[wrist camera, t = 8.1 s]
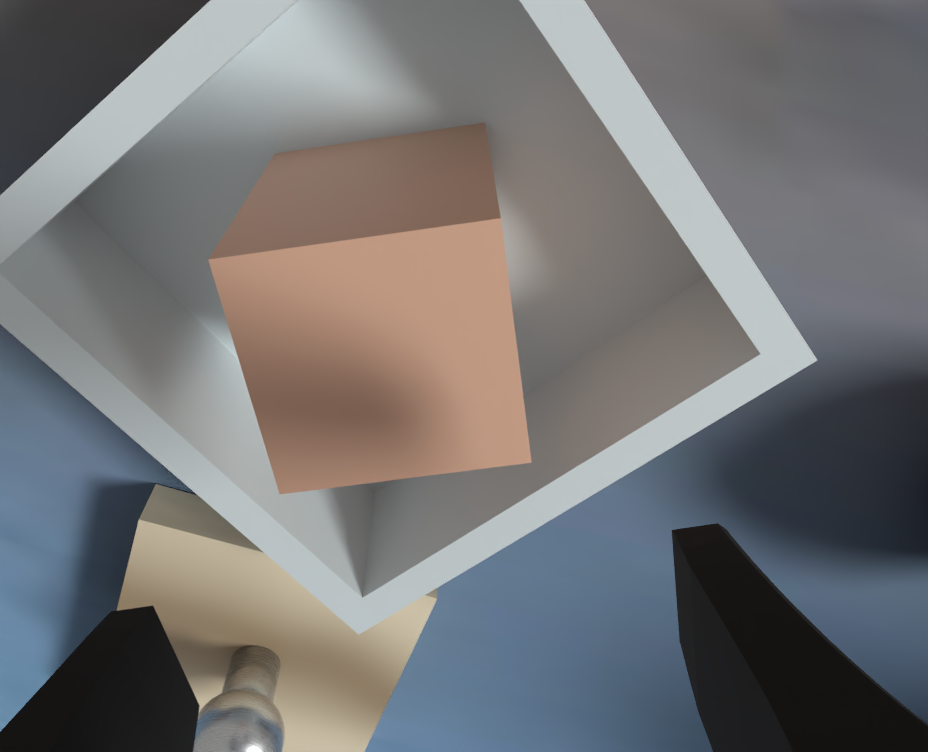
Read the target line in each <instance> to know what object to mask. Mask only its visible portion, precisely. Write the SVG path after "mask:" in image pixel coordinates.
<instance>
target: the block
mask: <svg viewBox="0 0 928 752" xmlns="http://www.w3.org/2000/svg"><path fill="white" fill-rule="evenodd" d="M208 261H209V264H210V267H211V271H212V274H213V277H214V280H215V284H216V287H217V290H218V294H219V297H220V300H221V303H222V307H223V310H224V313H225V317H226V320H227V323H228V326H229V330H230V333H231V336H232V340H233V343H234V346H235V349H236V353H237V356H238V359H239V363H240V366H241V369H242V372H243V376H244V379H245V382H246V386H247V389H248V392H249V395H250V399H251V402H252V405H253V409H254V412H255V415H256V418H257V422H258V425H259V428H260V432H261V435H262V438H263V441H264V445H265V448H266V451H267V455H268V458H269V461H270V464H271V468H272V471H273V474H274V478H275V481H276V484H277V487H278V491H279V494H288V493H295V492H303V491H311V490H319V489H327V488H335V487H343V486H351V485H359V484H367V483H375V482H382V481H390V480H398V479H406V478H414V477H422V476H430V475H438V474H446V473H454V472H462V471H470V470H477V469H485V468H493V467H501V466H509V465H517V464H525V463H532V461H531V453H530V445H529V437H528V430H527V422H526V414H525V406H524V398H523V390H522V382H521V374H520V366H519V358H518V350H517V342H516V334H515V326H514V318H513V311H512V303H511V295H510V287H509V279H508V271H507V263H506V255H505V247H504V239H503V231H502V223H501V216H500V210H499V204H498V198H497V192H496V185H495V179H494V173H493V167H492V161H491V155H490V149H489V143H488V136H487V130H486V124H485V123H479V124H472V125H465V126H458V127H451V128H445V129H438V130H431V131H424V132H418V133H411V134H404V135H397V136H390V137H384V138H377V139H370V140H363V141H356V142H350V143H343V144H336V145H329V146H323V147H316V148H309V149H302V150H295V151H289V152H282V153H275V154H274V156H273V157H272V159H271V160H270V162H269V164H268V165H267V167H266V168H265V170H264V172H263V173H262V175H261V176H260V178H259V179H258V181H257V183H256V184H255V186H254V187H253V189H252V191H251V192H250V194H249V195H248V197H247V199H246V200H245V202H244V203H243V205H242V207H241V208H240V210H239V211H238V213H237V215H236V216H235V218H234V219H233V221H232V223H231V224H230V226H229V227H228V229H227V230H226V232H225V234H224V235H223V237H222V238H221V240H220V242H219V243H218V245H217V246H216V248H215V250H214V251H213V253H212V254H211V256H210V258H209V259H208Z"/></svg>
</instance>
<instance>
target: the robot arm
mask: <svg viewBox="0 0 928 752" xmlns="http://www.w3.org/2000/svg"><path fill="white" fill-rule="evenodd" d="M672 539H673V553H674V567H675V581H676V595H677V609H678V623H679V638H680V643H681V647H682V651H683V655H684V659H685V663H686V667H687V671H688V674H689V678H690V682H691V686H692V690H693V693H694V697H695V701H696V705H697V708H698V712H699V715H700V717H701V720H702V723H703V725H704V728H705V731H706V733H707V736H708V739H709V741H710V744H711V747H712V749H713V752H928V725H927V724H926V723H925V722H924V721H922V720H921V719H920V718H918V717H917V716H916V715H915V714H913V713H912V712H911V711H910V710H908V709H907V708H906V707H905V706H904V705H902V704H901V703H900V702H899V701H897V700H896V699H895V698H894V697H893V696H892V695H890V694H889V693H888V692H887V691H886V690H884V689H883V688H882V687H881V686H880V685H879V684H877V683H876V682H875V681H874V680H873V679H872V678H871V677H869V676H868V675H867V674H866V673H865V672H864V671H863V670H861V669H860V668H859V667H858V666H857V665H856V664H855V663H854V662H852V661H851V660H850V659H849V658H848V657H847V656H846V655H845V654H844V653H843V652H842V651H840V650H839V649H838V648H837V647H836V646H835V645H834V644H833V643H832V642H831V641H830V640H829V639H828V638H827V637H826V636H825V635H824V634H823V633H822V632H820V631H819V630H818V629H817V628H816V627H815V626H814V625H813V624H812V623H811V622H810V621H809V620H808V619H807V618H806V617H805V616H804V615H803V614H802V613H801V612H800V611H799V610H798V609H797V608H796V607H795V606H794V605H793V604H792V603H791V602H790V601H789V600H788V599H787V598H786V597H785V596H784V595H783V594H782V592H781V591H780V590H779V589H778V588H777V587H776V586H775V585H774V584H773V583H772V582H771V581H770V580H769V578H768V577H767V576H766V575H765V574H764V573H763V572H762V571H761V570H760V569H759V568H758V566H757V565H756V564H755V563H754V562H753V561H752V560H751V558H750V557H749V556H748V555H747V554H746V553H745V552H744V550H743V549H742V548H741V547H740V546H739V544H738V543H737V542H736V541H735V540H734V538H733V537H732V536H731V535H730V533H729V532H728V531H727V530H726V529H725V528H724V527H722V526H721V525H719V524H718V523H717V524H710V525H704V526H697V527H690V528H683V529H676V530H672ZM199 707H200V705H199V703H198V701H197V699H196V697H195V695H194V693H193V690H192V688H191V686H190V684H189V682H188V680H187V677H186V675H185V673H184V671H183V669H182V667H181V664H180V662H179V660H178V658H177V656H176V654H175V652H174V649H173V647H172V645H171V643H170V641H169V639H168V636H167V634H166V632H165V630H164V628H163V626H162V623H161V621H160V619H159V617H158V615H157V613H156V611H155V608H154V606H146V607H139V608H132V609H125V610H118V611H111V612H110V613H109V614H108V615H107V616H106V617H105V618H104V619H103V620H102V621H101V622H100V624H99V625H98V626H97V627H96V628H95V629H94V630H93V631H92V632H91V633H90V634H89V635H88V636H87V637H86V638H85V640H84V641H83V642H82V643H81V644H80V645H79V646H78V647H77V648H76V649H75V651H74V652H73V653H72V654H71V655H70V656H69V657H68V658H67V659H66V661H65V662H64V663H63V664H62V665H61V666H60V667H59V668H58V669H57V670H56V672H55V673H54V674H53V675H52V676H51V677H50V678H49V679H48V680H47V682H46V683H45V684H44V685H43V686H42V687H41V688H40V689H39V690H38V691H37V693H36V694H35V695H34V696H33V697H32V698H31V699H30V700H29V701H28V702H27V703H26V705H25V706H24V707H23V708H22V709H21V710H20V711H19V712H18V713H17V714H16V715H15V716H14V718H13V719H12V720H11V721H10V722H9V723H8V724H7V725H6V726H5V727H4V728H3V730H2V731H1V732H0V752H193V748H194V742H195V735H196V728H197V721H198V714H199Z"/></svg>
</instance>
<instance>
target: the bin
mask: <svg viewBox="0 0 928 752" xmlns="http://www.w3.org/2000/svg"><path fill="white" fill-rule="evenodd" d="M479 123H485V124H486V130H487V136H488V143H489V149H490V155H491V161H492V167H493V173H494V179H495V185H496V192H497V198H498V204H499V210H500V216H501V223H502V231H503V239H504V247H505V255H506V263H507V271H508V279H509V287H510V295H511V303H512V311H513V318H514V326H515V334H516V342H517V350H518V358H519V366H520V374H521V382H522V390H523V398H524V406H525V414H526V422H527V430H528V437H529V445H530V453H531V461H532V463H525V464H517V465H509V466H501V467H493V468H485V469H477V470H470V471H462V472H454V473H446V474H438V475H430V476H422V477H414V478H406V479H398V480H390V481H382V482H375V483H367V484H359V485H351V486H343V487H335V488H327V489H319V490H311V491H303V492H295V493H288V494H279V491H278V487H277V484H276V481H275V478H274V474H273V471H272V468H271V464H270V461H269V458H268V455H267V451H266V448H265V445H264V441H263V438H262V435H261V432H260V428H259V425H258V422H257V418H256V415H255V412H254V409H253V405H252V402H251V399H250V395H249V392H248V389H247V386H246V382H245V379H244V376H243V372H242V369H241V366H240V363H239V359H238V356H237V353H236V349H235V346H234V343H233V340H232V336H231V333H230V330H229V326H228V323H227V320H226V317H225V313H224V310H223V307H222V303H221V300H220V297H219V294H218V290H217V287H216V284H215V280H214V277H213V274H212V271H211V267H210V264H209V261H208V259H209V258H210V256H211V254H212V253H213V251H214V250H215V248H216V246H217V245H218V243H219V242H220V240H221V238H222V237H223V235H224V234H225V232H226V230H227V229H228V227H229V226H230V224H231V223H232V221H233V219H234V218H235V216H236V215H237V213H238V211H239V210H240V208H241V207H242V205H243V203H244V202H245V200H246V199H247V197H248V195H249V194H250V192H251V191H252V189H253V187H254V186H255V184H256V183H257V181H258V179H259V178H260V176H261V175H262V173H263V172H264V170H265V168H266V167H267V165H268V164H269V162H270V160H271V159H272V157H273V156H274V154H275V153H282V152H289V151H295V150H302V149H309V148H316V147H323V146H329V145H336V144H343V143H350V142H356V141H363V140H370V139H377V138H384V137H390V136H397V135H404V134H411V133H418V132H424V131H431V130H438V129H445V128H451V127H458V126H465V125H472V124H479ZM0 324H1V325H2V326H3V327H4V328H5V329H6V330H8V331H9V332H10V333H11V334H12V335H13V336H15V337H16V338H17V339H18V340H19V341H20V342H21V343H23V344H24V345H25V346H26V347H27V348H28V349H30V350H31V351H32V352H33V353H34V354H35V355H36V356H38V357H39V358H40V359H41V360H42V361H43V362H45V363H46V364H47V365H48V366H49V367H50V368H51V369H53V370H54V371H55V372H56V373H57V374H58V375H60V376H61V377H62V378H63V379H64V380H65V381H66V382H68V383H69V384H70V385H71V386H72V387H73V388H75V389H76V390H77V391H78V392H79V393H80V394H82V395H83V396H84V397H85V398H86V399H87V400H88V401H90V402H91V403H92V404H93V405H94V406H95V407H97V408H98V409H99V410H100V411H101V412H102V413H103V414H105V415H106V416H107V417H108V418H109V419H110V420H112V421H113V422H114V423H115V424H116V425H117V426H118V427H120V428H121V429H122V430H123V431H124V432H125V433H127V434H128V435H129V436H130V437H131V438H132V439H133V440H135V441H136V442H137V443H138V444H139V445H140V446H142V447H143V448H144V449H145V450H146V451H147V452H148V453H150V454H151V455H152V456H153V457H154V458H155V459H157V460H158V461H159V462H160V463H161V464H162V465H163V466H165V467H166V468H167V469H168V470H169V471H170V472H172V473H173V474H174V475H175V476H176V477H177V478H178V479H180V480H181V481H182V482H183V483H184V484H185V485H187V486H188V487H189V488H190V489H191V490H192V491H193V492H195V493H196V494H197V495H198V496H199V497H200V498H202V499H203V500H204V501H205V502H206V503H207V504H208V505H210V506H211V507H212V508H213V509H214V510H215V511H217V512H218V513H219V514H220V515H221V516H222V517H223V518H225V519H226V520H227V521H228V522H229V523H230V524H232V525H233V526H234V527H235V528H236V529H237V530H238V531H240V532H241V533H242V534H243V535H244V536H245V537H247V538H248V539H249V540H250V541H251V542H252V543H253V544H255V545H256V546H257V547H258V548H259V549H260V550H262V551H263V552H264V553H265V554H266V555H267V556H268V557H270V558H271V559H272V560H273V561H274V562H275V563H277V564H278V565H279V566H280V567H281V568H282V569H283V570H285V571H286V572H287V573H288V574H289V575H290V576H292V577H293V578H294V579H295V580H296V581H297V582H298V583H300V584H301V585H302V586H303V587H304V588H305V589H307V590H308V591H309V592H310V593H311V594H312V595H313V596H315V597H316V598H317V599H318V600H319V601H320V602H322V603H323V604H324V605H325V606H326V607H327V608H328V609H330V610H331V611H332V612H333V613H334V614H335V615H337V616H338V617H339V618H340V619H341V620H342V621H343V622H345V623H346V624H347V625H348V626H349V627H350V628H352V629H353V630H354V631H355V632H356V633H357V634H358V635H359V634H361V633H362V632H364V631H366V630H367V629H369V628H371V627H372V626H374V625H376V624H377V623H379V622H381V621H382V620H384V619H386V618H387V617H389V616H391V615H392V614H394V613H396V612H397V611H399V610H401V609H402V608H404V607H406V606H407V605H409V604H411V603H412V602H414V601H416V600H418V599H419V598H421V597H423V596H424V595H426V594H428V593H429V592H431V591H433V590H434V589H436V588H438V587H439V586H441V585H443V584H444V583H446V582H448V581H449V580H451V579H453V578H454V577H456V576H458V575H459V574H461V573H463V572H464V571H466V570H468V569H469V568H471V567H473V566H474V565H476V564H478V563H479V562H481V561H483V560H484V559H486V558H488V557H489V556H491V555H493V554H494V553H496V552H498V551H499V550H501V549H503V548H504V547H506V546H508V545H509V544H511V543H513V542H515V541H516V540H518V539H520V538H521V537H523V536H525V535H526V534H528V533H530V532H531V531H533V530H535V529H536V528H538V527H540V526H541V525H543V524H545V523H546V522H548V521H550V520H551V519H553V518H555V517H556V516H558V515H560V514H561V513H563V512H565V511H566V510H568V509H570V508H571V507H573V506H575V505H576V504H578V503H580V502H581V501H583V500H585V499H586V498H588V497H590V496H591V495H593V494H595V493H596V492H598V491H600V490H601V489H603V488H605V487H606V486H608V485H610V484H612V483H613V482H615V481H617V480H618V479H620V478H622V477H623V476H625V475H627V474H628V473H630V472H632V471H633V470H635V469H637V468H638V467H640V466H642V465H643V464H645V463H647V462H648V461H650V460H652V459H653V458H655V457H657V456H658V455H660V454H662V453H663V452H665V451H667V450H668V449H670V448H672V447H673V446H675V445H677V444H678V443H680V442H682V441H683V440H685V439H687V438H688V437H690V436H692V435H693V434H695V433H697V432H698V431H700V430H702V429H704V428H705V427H707V426H709V425H710V424H712V423H714V422H715V421H717V420H719V419H720V418H722V417H724V416H725V415H727V414H729V413H730V412H732V411H734V410H735V409H737V408H739V407H740V406H742V405H744V404H745V403H747V402H749V401H750V400H752V399H754V398H755V397H757V396H759V395H760V394H762V393H764V392H765V391H767V390H769V389H770V388H772V387H774V386H775V385H777V384H779V383H780V382H782V381H784V380H785V379H787V378H789V377H790V376H792V375H794V374H795V373H797V372H799V371H801V370H802V369H804V368H806V367H807V366H809V365H811V364H812V363H814V362H816V361H817V359H816V357H815V356H814V354H813V353H812V351H811V350H810V348H809V347H808V345H807V343H806V342H805V340H804V339H803V337H802V336H801V334H800V333H799V331H798V330H797V328H796V326H795V325H794V323H793V322H792V320H791V319H790V317H789V316H788V314H787V313H786V311H785V310H784V308H783V306H782V305H781V303H780V302H779V300H778V299H777V297H776V296H775V294H774V293H773V291H772V289H771V288H770V286H769V285H768V283H767V282H766V280H765V279H764V277H763V276H762V274H761V272H760V271H759V269H758V268H757V266H756V265H755V263H754V262H753V260H752V259H751V257H750V255H749V254H748V252H747V251H746V249H745V248H744V246H743V245H742V243H741V242H740V240H739V238H738V237H737V235H736V234H735V232H734V231H733V229H732V228H731V226H730V225H729V223H728V221H727V220H726V218H725V217H724V215H723V214H722V212H721V211H720V209H719V208H718V206H717V204H716V203H715V201H714V200H713V198H712V197H711V195H710V194H709V192H708V191H707V189H706V188H705V186H704V184H703V183H702V181H701V180H700V178H699V177H698V175H697V174H696V172H695V171H694V169H693V167H692V166H691V164H690V163H689V161H688V160H687V158H686V157H685V155H684V154H683V152H682V150H681V149H680V147H679V146H678V144H677V143H676V141H675V140H674V138H673V137H672V135H671V133H670V132H669V130H668V129H667V127H666V126H665V124H664V123H663V121H662V120H661V118H660V116H659V115H658V113H657V112H656V110H655V109H654V107H653V106H652V104H651V103H650V101H649V99H648V98H647V96H646V95H645V93H644V92H643V90H642V89H641V87H640V86H639V84H638V83H637V81H636V79H635V78H634V76H633V75H632V73H631V72H630V70H629V69H628V67H627V66H626V64H625V62H624V61H623V59H622V58H621V56H620V55H619V53H618V52H617V50H616V49H615V47H614V45H613V44H612V42H611V41H610V39H609V38H608V36H607V35H606V33H605V32H604V30H603V28H602V27H601V25H600V24H599V22H598V21H597V19H596V18H595V16H594V15H593V13H592V11H591V10H590V8H589V7H588V5H587V4H586V2H585V1H584V0H210V1H209V2H208V3H207V4H206V5H205V6H204V7H203V8H202V9H200V10H199V11H198V12H197V13H196V14H195V15H194V16H193V17H192V18H191V19H190V20H189V21H188V22H186V23H185V24H184V25H183V26H182V27H181V28H180V29H179V30H178V31H177V32H176V33H175V34H174V35H172V36H171V37H170V38H169V39H168V40H167V41H166V42H165V43H164V44H163V45H162V46H161V47H160V48H158V49H157V50H156V51H155V52H154V53H153V54H152V55H151V56H150V57H149V58H148V59H147V60H146V61H144V62H143V63H142V64H141V65H140V66H139V67H138V68H137V69H136V70H135V71H134V72H133V73H132V74H130V75H129V76H128V77H127V78H126V79H125V80H124V81H123V82H122V83H121V84H120V85H119V86H118V87H116V88H115V89H114V90H113V91H112V92H111V93H110V94H109V95H108V96H107V97H106V98H105V99H104V100H102V101H101V102H100V103H99V104H98V105H97V106H96V107H95V108H94V109H93V110H92V111H91V112H90V113H88V114H87V115H86V116H85V117H84V118H83V119H82V120H81V121H80V122H79V123H78V124H77V125H76V126H74V127H73V128H72V129H71V130H70V131H69V132H68V133H67V134H66V135H65V136H64V137H63V138H62V139H60V140H59V141H58V142H57V143H56V144H55V145H54V146H53V147H52V148H51V149H50V150H49V151H48V152H46V153H45V154H44V155H43V156H42V157H41V158H40V159H39V160H38V161H37V162H36V163H35V164H34V165H32V166H31V167H30V168H29V169H28V170H27V171H26V172H25V173H24V174H23V175H22V176H21V177H20V178H18V179H17V180H16V181H15V182H14V183H13V184H12V185H11V186H10V187H9V188H8V189H7V190H6V191H4V192H3V193H2V194H1V195H0Z"/></svg>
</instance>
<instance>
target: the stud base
mask: <svg viewBox="0 0 928 752" xmlns="http://www.w3.org/2000/svg"><path fill="white" fill-rule="evenodd" d="M436 600H437V588H436V589H434V590H433V591H431V592H429V593H428V594H426V595H424V596H423V597H421V598H419V599H418V600H416V601H414V602H412V603H411V604H409V605H407V606H406V607H404V608H402V609H401V610H399V611H397V612H396V613H394V614H392V615H391V616H389V617H387V618H386V619H384V620H382V621H381V622H379V623H377V624H376V625H374V626H372V627H371V628H369V629H367V630H366V631H364V632H362V633H361V634H359V635H358V634H357V633H356V632H355V631H354V630H353V629H352V628H350V627H349V626H348V625H347V624H346V623H345V622H343V621H342V620H341V619H340V618H339V617H338V616H337V615H335V614H334V613H333V612H332V611H331V610H330V609H328V608H327V607H326V606H325V605H324V604H323V603H322V602H320V601H319V600H318V599H317V598H316V597H315V596H313V595H312V594H311V593H310V592H309V591H308V590H307V589H305V588H304V587H303V586H302V585H301V584H300V583H298V582H297V581H296V580H295V579H294V578H293V577H292V576H290V575H289V574H288V573H287V572H286V571H285V570H283V569H282V568H281V567H280V566H279V565H278V564H277V563H275V562H274V561H273V560H272V559H271V558H270V557H268V556H267V555H266V554H265V553H264V552H263V551H262V550H260V549H259V548H258V547H257V546H256V545H255V544H253V543H252V542H251V541H250V540H249V539H248V538H247V537H245V536H244V535H243V534H242V533H241V532H240V531H238V530H237V529H236V528H235V527H234V526H233V525H232V524H230V523H229V522H228V521H227V520H226V519H225V518H223V517H222V516H221V515H220V514H219V513H218V512H217V511H215V510H214V509H213V508H212V507H211V506H210V505H208V504H207V503H206V502H205V501H204V500H203V499H202V498H200V497H199V496H198V495H194V494H191V493H187V492H183V491H180V490H176V489H172V488H169V487H165V486H161V485H158V484H156V485H155V487H154V489H153V491H152V493H151V495H150V497H149V499H148V501H147V503H146V506H145V508H144V510H143V512H142V514H141V516H140V518H139V521H138V525H137V529H136V533H135V537H134V541H133V545H132V549H131V553H130V558H129V562H128V566H127V570H126V574H125V578H124V582H123V586H122V590H121V594H120V598H119V603H118V607H117V611H118V610H125V609H132V608H139V607H146V606H154V608H155V611H156V613H157V615H158V617H159V619H160V621H161V623H162V626H163V628H164V630H165V632H166V634H167V636H168V639H169V641H170V643H171V645H172V647H173V649H174V652H175V654H176V656H177V658H178V660H179V662H180V664H181V667H182V669H183V671H184V673H185V675H186V677H187V680H188V682H189V684H190V686H191V688H192V690H193V693H194V695H195V697H196V699H197V701H198V703H199V705H200V707H199V714H198V721H197V728H196V735H195V742H194V748H193V752H364V751H365V749H366V747H367V745H368V743H369V741H370V739H371V737H372V734H373V732H374V730H375V728H376V726H377V724H378V722H379V720H380V718H381V716H382V713H383V711H384V709H385V707H386V705H387V703H388V701H389V699H390V697H391V695H392V692H393V690H394V688H395V686H396V684H397V682H398V680H399V678H400V676H401V674H402V672H403V669H404V667H405V665H406V663H407V661H408V659H409V657H410V655H411V653H412V651H413V648H414V646H415V644H416V642H417V640H418V638H419V636H420V634H421V632H422V630H423V627H424V625H425V623H426V621H427V619H428V617H429V615H430V613H431V611H432V609H433V607H434V604H435V602H436Z"/></svg>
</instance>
